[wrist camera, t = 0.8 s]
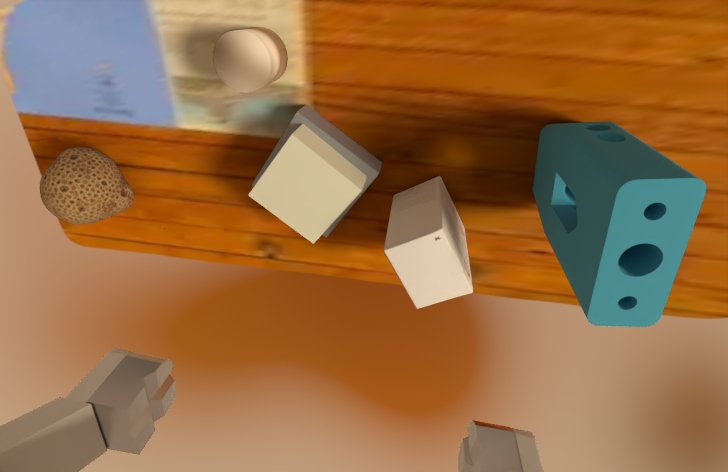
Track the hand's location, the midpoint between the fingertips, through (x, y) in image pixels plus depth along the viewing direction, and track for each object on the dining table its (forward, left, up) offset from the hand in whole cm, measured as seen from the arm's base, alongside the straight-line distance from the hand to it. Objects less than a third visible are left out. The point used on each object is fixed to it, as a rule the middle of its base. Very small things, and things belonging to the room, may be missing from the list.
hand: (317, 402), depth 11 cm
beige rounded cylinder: (+5, -15, -39) cm, 42 cm away
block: (-6, +18, -39) cm, 43 cm away
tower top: (+12, -3, -35) cm, 37 cm away
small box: (+8, +11, -39) cm, 41 cm away
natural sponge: (+30, -25, -39) cm, 55 cm away
